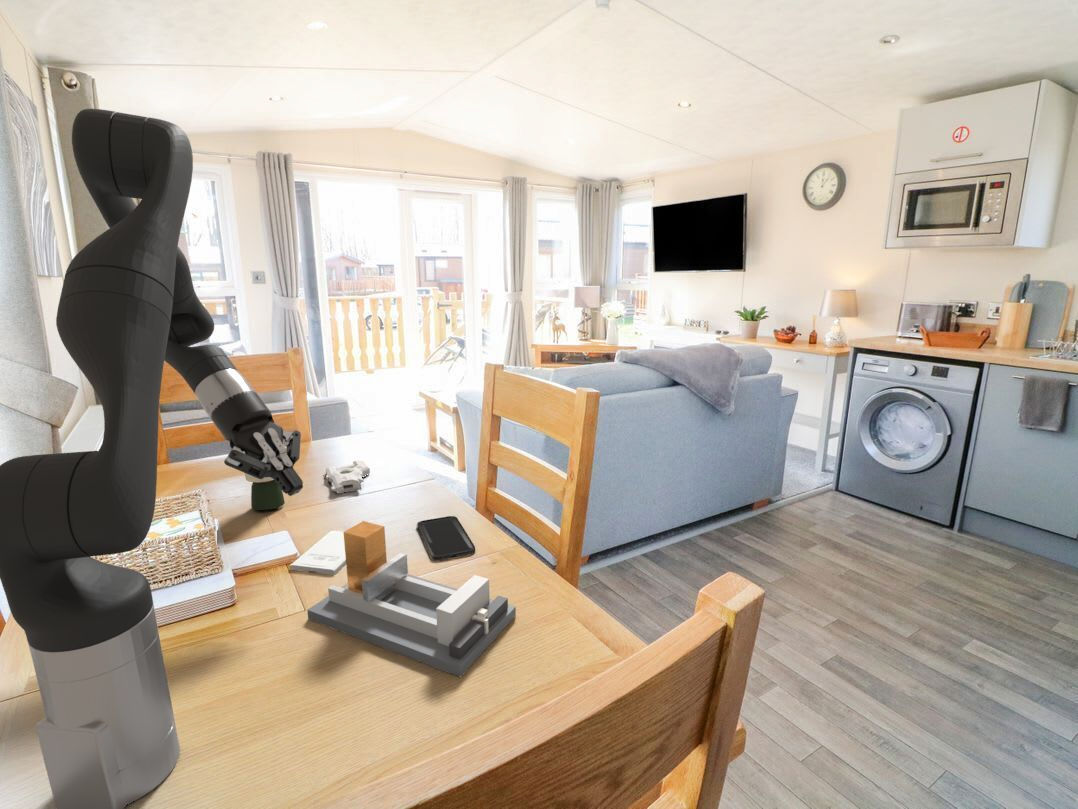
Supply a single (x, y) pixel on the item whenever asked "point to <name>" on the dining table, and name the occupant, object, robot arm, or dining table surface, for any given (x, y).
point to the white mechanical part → (347, 476)
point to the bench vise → (421, 620)
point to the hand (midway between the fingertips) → (297, 491)
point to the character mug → (265, 493)
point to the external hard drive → (323, 555)
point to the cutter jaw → (371, 562)
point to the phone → (445, 538)
